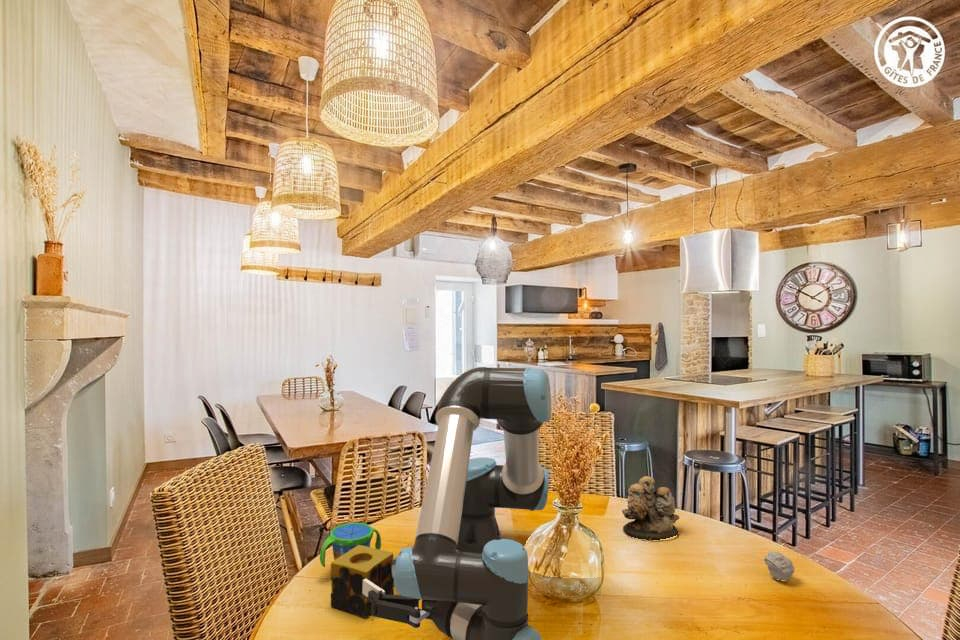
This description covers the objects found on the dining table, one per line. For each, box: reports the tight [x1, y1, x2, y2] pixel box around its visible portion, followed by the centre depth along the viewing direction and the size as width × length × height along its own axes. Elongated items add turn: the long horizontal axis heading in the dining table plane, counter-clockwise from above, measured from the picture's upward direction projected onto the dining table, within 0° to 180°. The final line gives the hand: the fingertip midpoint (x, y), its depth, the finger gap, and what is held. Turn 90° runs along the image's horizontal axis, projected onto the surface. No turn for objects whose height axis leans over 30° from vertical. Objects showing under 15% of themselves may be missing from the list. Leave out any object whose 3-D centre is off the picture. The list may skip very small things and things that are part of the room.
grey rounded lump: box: [763, 550, 795, 581], centre depth 119 cm, size 6×7×7 cm
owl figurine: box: [621, 475, 680, 541], centre depth 146 cm, size 18×12×17 cm, turn 101°
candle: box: [330, 545, 395, 619], centre depth 107 cm, size 10×10×10 cm
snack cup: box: [319, 522, 382, 568], centre depth 120 cm, size 16×10×10 cm
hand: (392, 573), depth 100 cm, fingers open, 13 cm apart
